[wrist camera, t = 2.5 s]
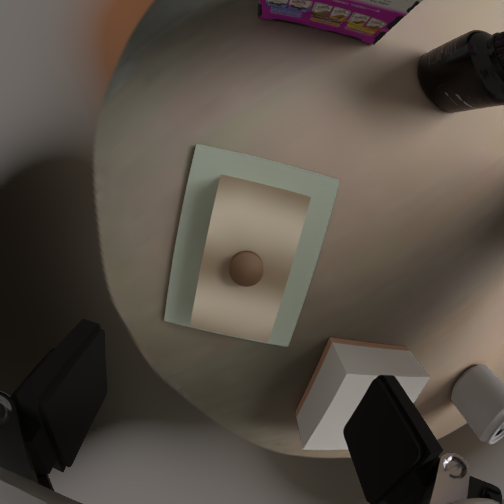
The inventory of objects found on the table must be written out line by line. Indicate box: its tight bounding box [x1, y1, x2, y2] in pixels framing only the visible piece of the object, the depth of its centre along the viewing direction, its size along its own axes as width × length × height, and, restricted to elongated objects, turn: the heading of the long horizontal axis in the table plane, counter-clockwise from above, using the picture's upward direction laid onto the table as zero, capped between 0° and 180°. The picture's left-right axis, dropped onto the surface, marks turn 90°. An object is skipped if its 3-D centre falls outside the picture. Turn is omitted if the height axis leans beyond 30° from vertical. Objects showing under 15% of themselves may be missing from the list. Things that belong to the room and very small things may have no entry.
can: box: [451, 364, 504, 444], centre depth 25 cm, size 8×8×12 cm
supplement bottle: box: [418, 30, 504, 113], centre depth 15 cm, size 7×7×12 cm
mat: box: [164, 144, 340, 347], centre depth 24 cm, size 16×12×1 cm
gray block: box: [295, 337, 430, 450], centre depth 26 cm, size 11×10×6 cm
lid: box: [190, 175, 311, 342], centre depth 22 cm, size 12×6×4 cm, turn 166°
